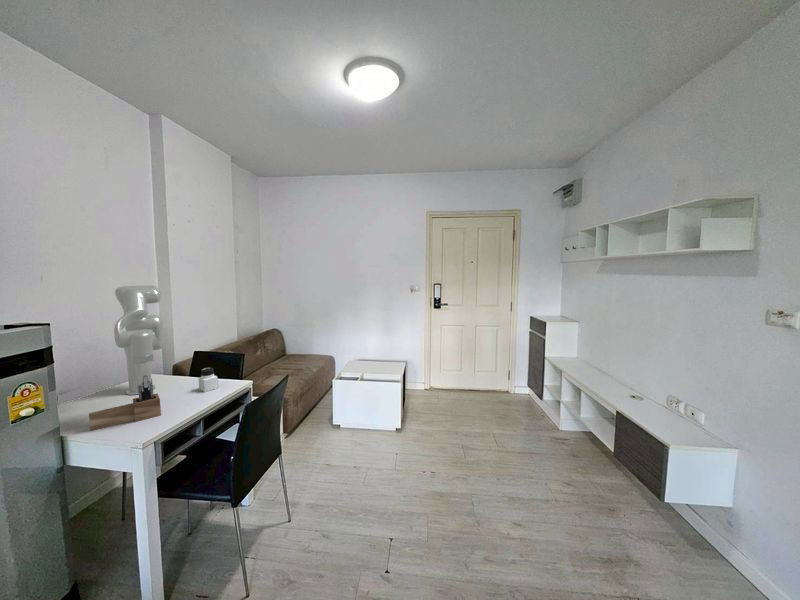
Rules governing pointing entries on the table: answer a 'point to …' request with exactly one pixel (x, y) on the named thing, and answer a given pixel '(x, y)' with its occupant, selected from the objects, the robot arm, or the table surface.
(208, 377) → the medicine bottle
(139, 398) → the grey upright block
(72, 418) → the table surface
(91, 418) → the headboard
